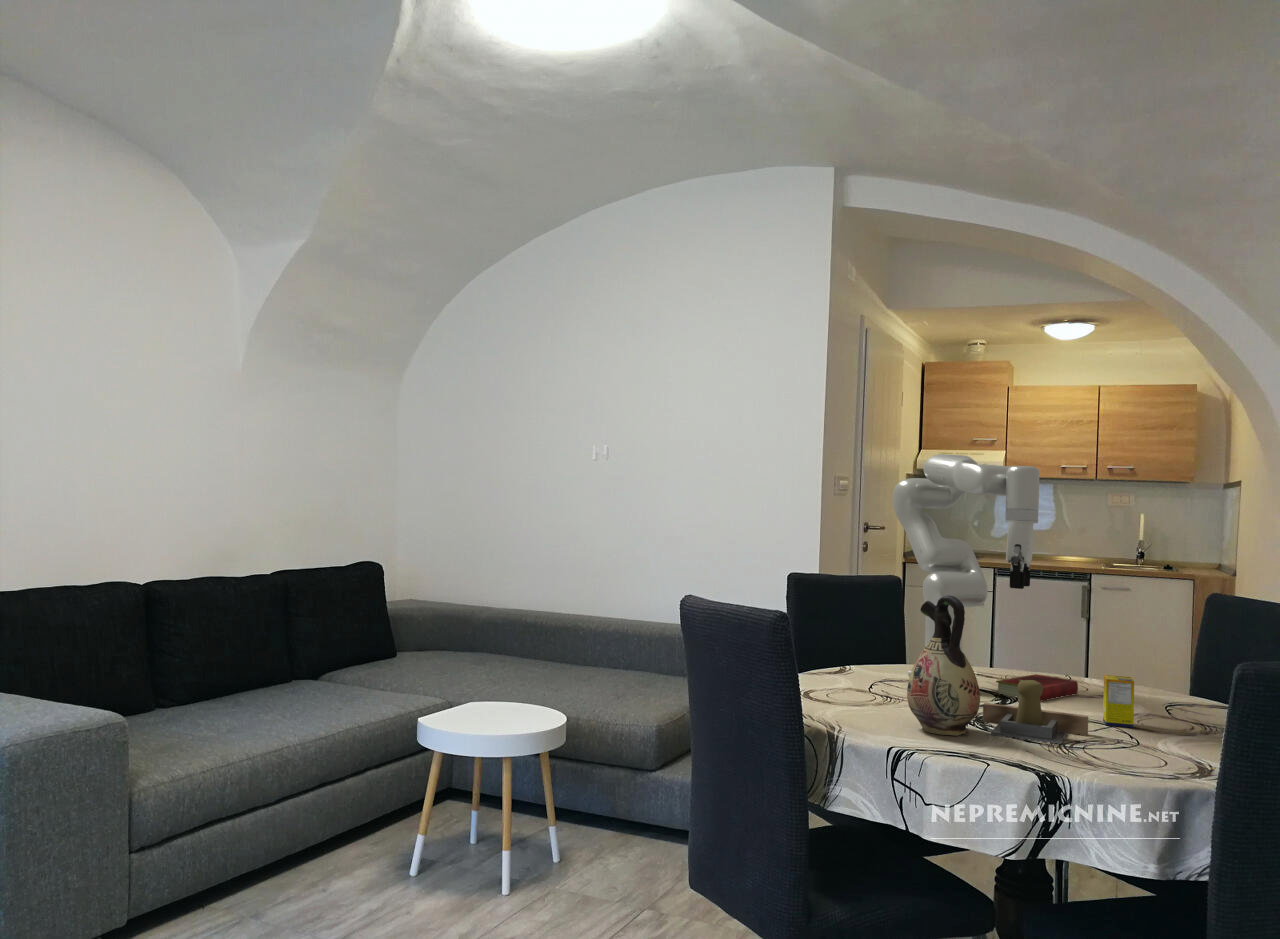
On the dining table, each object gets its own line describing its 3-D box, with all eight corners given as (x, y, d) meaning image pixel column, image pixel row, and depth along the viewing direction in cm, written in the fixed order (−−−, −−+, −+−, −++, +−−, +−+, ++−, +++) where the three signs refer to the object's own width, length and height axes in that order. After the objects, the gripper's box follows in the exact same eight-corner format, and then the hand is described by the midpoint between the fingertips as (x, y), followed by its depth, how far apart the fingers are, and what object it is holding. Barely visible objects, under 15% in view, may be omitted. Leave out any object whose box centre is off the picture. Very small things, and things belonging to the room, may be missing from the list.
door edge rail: (982, 721, 228) (983, 703, 228) (984, 719, 229) (984, 702, 230) (1087, 735, 217) (1087, 717, 217) (1087, 734, 219) (1088, 715, 219)
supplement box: (1130, 723, 232) (1131, 676, 232) (1133, 728, 226) (1134, 680, 227) (1102, 720, 234) (1103, 674, 234) (1105, 725, 228) (1106, 678, 229)
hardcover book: (1077, 695, 267) (1078, 680, 267) (1038, 703, 254) (1039, 687, 254) (1035, 688, 276) (1036, 673, 277) (995, 695, 263) (996, 679, 263)
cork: (1009, 727, 219) (1010, 677, 220) (1036, 728, 220) (1037, 678, 220) (1021, 734, 213) (1023, 683, 214) (1048, 734, 214) (1050, 683, 214)
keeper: (990, 734, 214) (991, 720, 214) (1000, 724, 225) (1000, 711, 225) (1060, 744, 208) (1060, 729, 208) (1066, 733, 218) (1067, 719, 218)
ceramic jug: (891, 724, 221) (895, 590, 221) (948, 721, 226) (952, 590, 227) (939, 743, 205) (944, 598, 206) (999, 739, 210) (1003, 598, 211)
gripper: (1011, 516, 250) (1009, 584, 249) (999, 516, 235) (997, 588, 234) (1043, 517, 246) (1041, 586, 246) (1033, 517, 231) (1031, 590, 231)
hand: (1019, 587), depth 240 cm, fingers open, 9 cm apart
